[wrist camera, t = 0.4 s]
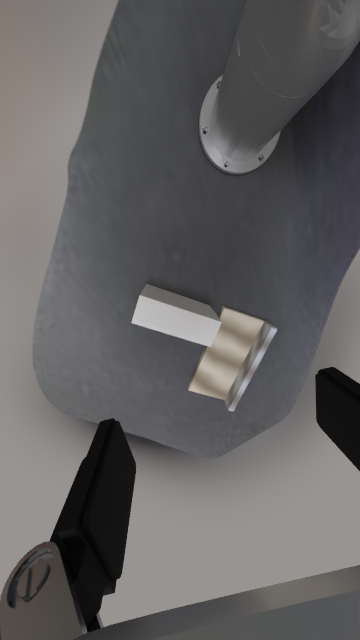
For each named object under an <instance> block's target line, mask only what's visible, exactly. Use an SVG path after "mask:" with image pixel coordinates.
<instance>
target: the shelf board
mask: <svg viewBox="0 0 360 640" xmlns="http://www.w3.org/2000/svg"><path fill="white" fill-rule="evenodd" d="M218 318H219V319H220V320H221V322H222V323H221V325H220V327H219V330H218V332H217V334H216V336H215V339H214V341H213V343H212V345H211V347H208V346H205V347H204V350H203V352H202V354H201V357H200V359H199V361H198V363H197V366H196V368H195V370H194V373H193V375H192V377H191V380H190V382H189V384H188V390H189V391H193V392H197V393H200V394H204V395H208V396H212V397H216V398H219V399H223V400H225V403H226V405H227V408H228V410H229V411H234V409H235V407H236V406H237V404H238V402H239V400H240V398H241V396H242V394H243V393H244V391H245V389H246V387H247V385H248V383H249V381H250V379H251V378H252V376H253V374H254V372H255V370H256V368H257V366H258V365H259V363H260V361H261V359H262V357H263V355H264V353H265V352H266V350H267V348H268V346H269V344H270V342H271V340H272V338H273V337H274V335H275V333H276V331H277V328H275V327H274V326H273V325H271V324H270V323H268V322H267V321H265V320H262V319H259V318H257V317H254V316H251V315H248V314H245V313H242V312H239V311H236V310H233V309H230V308H227V307H225V306H222V308H221V310H220V313H219V315H218Z"/></svg>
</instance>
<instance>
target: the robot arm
mask: <svg viewBox="0 0 360 640" xmlns="http://www.w3.org/2000/svg"><path fill="white" fill-rule="evenodd" d="M359 41H360V0H247V1H246V4H245V7H244V10H243V13H242V17H241V20H240V23H239V26H238V29H237V32H236V35H235V39H234V42H233V45H232V48H231V51H230V54H229V58H228V61H227V64H226V67H225V70H224V73H223V75H222V76H220V77H219V78H218V79H217V80H216V81H215V82H214V83H213V84H212V86H211V87H210V89H209V91H208V92H207V94H206V96H205V99H204V101H203V104H202V107H201V111H200V117H199V137H200V142H201V145H202V148H203V151H204V153H205V155H206V157H207V158H208V160H209V161H210V162H211V163H212V165H214V166H215V167H216V168H217V169H218V170H220V171H222V172H224V173H227V174H231V175H241V174H246V173H249V172H251V171H253V170H255V169H256V168H258V167H259V166H260V165H262V164H263V163H264V162H265V161H266V160H267V158H268V157H269V156H270V155H271V153H272V152H273V150H274V148H275V147H276V144H277V142H278V139H279V137H280V133H281V129H282V128H283V127H284V126H285V125H286V124H287V123H288V122H289V121H290V120H291V119H292V118H293V117H294V116H295V115H296V114H297V112H298V111H299V110H300V109H301V108H302V107H303V106H304V105H305V104H306V103H307V102H308V101H309V100H310V99H311V98H312V97H313V96H314V95H315V94H316V93H317V92H318V90H319V89H320V88H321V87H322V86H323V85H324V84H325V83H326V82H327V81H328V80H329V79H330V78H331V76H332V75H333V74H334V73H335V72H336V71H337V70H338V69H339V68H340V67H341V66H342V65H343V63H344V62H345V61H346V60H347V58H348V57H349V56H350V55H351V53H352V52H353V50H354V49H355V47H356V46H357V44H358V43H359ZM218 88H219V89H218ZM203 132H205V133H206V134H203ZM258 158H259V159H260V161H259V159H258ZM224 165H226V166H227V167H226V168H225V167H224ZM315 378H316V419H317V423H318V424H319V426H320V428H321V429H322V430H323V431H324V432H325V433H326V434H327V435H328V437H329V438H330V439H331V440H332V441H333V442H334V443H335V444H336V446H337V447H338V448H339V449H340V450H341V451H342V452H343V453H344V454H345V455H346V457H347V458H348V459H349V460H350V461H351V462H352V463H353V464H354V465H355V466H356V468H357V469H358V470H359V471H360V384H359V383H357V382H356V381H354V380H353V379H351V378H350V377H348V376H347V375H345V374H344V373H342V372H341V371H339V370H338V369H336V368H334V367H330V368H325V369H321V370H319V371H318V374H316V377H315ZM135 474H136V463H135V460H134V457H133V455H132V452H131V450H130V447H129V445H128V442H127V440H126V437H125V435H124V432H123V430H122V427H121V425H120V422H119V421H115V419H114V418H112V419H108V420H104V421H101V422H100V423H99V426H98V428H97V431H96V434H95V436H94V438H93V441H92V444H91V446H90V449H89V451H88V454H87V456H86V457H85V458H84V459H83V461H82V463H81V465H80V467H79V470H78V472H77V475H76V477H75V480H74V482H73V484H72V487H71V489H70V492H69V494H68V497H67V499H66V502H65V504H64V507H63V509H62V511H61V514H60V516H59V519H58V521H57V524H56V526H55V529H54V531H53V534H52V536H51V539H50V541H49V542H43V543H41V544H39V545H37V546H35V547H34V548H33V549H32V550H30V551H29V552H28V553H27V554H26V555H25V556H24V557H23V558H22V559H21V560H20V561H19V562H18V564H17V565H16V567H15V568H14V569H13V571H12V572H11V574H10V576H9V578H8V579H7V581H6V583H5V586H4V589H3V592H2V594H1V599H0V640H360V565H358V566H354V567H349V568H345V569H341V570H337V571H332V572H328V573H324V574H319V575H315V576H311V577H306V578H302V579H298V580H293V581H289V582H284V583H280V584H276V585H271V586H267V587H263V588H258V589H254V590H250V591H246V592H241V593H237V594H233V595H229V596H225V597H220V598H217V599H212V600H208V601H204V602H199V603H195V604H191V605H187V606H183V607H179V608H174V609H170V610H166V611H162V612H158V613H154V614H151V615H147V616H143V617H140V618H136V619H132V620H128V621H124V622H120V623H117V624H113V625H109V626H107V627H104V626H103V624H102V621H101V618H100V615H99V610H100V608H101V603H102V597H103V596H104V595H108V594H112V593H115V587H116V580H117V579H119V578H120V577H121V574H122V569H123V562H124V554H125V547H126V540H127V533H128V525H129V518H130V511H131V503H132V496H133V489H134V482H135Z"/></svg>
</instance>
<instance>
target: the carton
mask: <svg viewBox="0 0 360 640" xmlns="http://www.w3.org/2000/svg"><path fill="white" fill-rule="evenodd" d="M131 323H133V324H136V325H140V326H143V327H146V328H149V329H153V330H156V331H159V332H163V333H166V334H169V335H172V336H176V337H179V338H182V339H185V340H189V341H192V342H195V343H199V344H202V345H205V346H208V347H211V345H212V343H213V341H214V339H215V336H216V334H217V332H218V330H219V327H220V325H221V323H222V322H221V320H220V319H219V318H218V316H217V315H216V313H215V312H214V311H213V309H212V308H211V307H210V305H207V304H204V303H201V302H199V301H196V300H193V299H190V298H187V297H184V296H181V295H178V294H175V293H172V292H169V291H166V290H163V289H160V288H157V287H154V286H152V285H149V284H146V285H145V287H144V289H143V290H142V292H141V294H140V296H139V299H138V302H137V306H136V309H135V312H134V316H133V319H132V322H131Z"/></svg>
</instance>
